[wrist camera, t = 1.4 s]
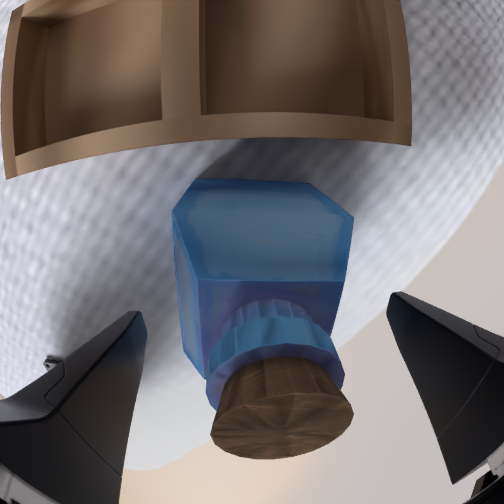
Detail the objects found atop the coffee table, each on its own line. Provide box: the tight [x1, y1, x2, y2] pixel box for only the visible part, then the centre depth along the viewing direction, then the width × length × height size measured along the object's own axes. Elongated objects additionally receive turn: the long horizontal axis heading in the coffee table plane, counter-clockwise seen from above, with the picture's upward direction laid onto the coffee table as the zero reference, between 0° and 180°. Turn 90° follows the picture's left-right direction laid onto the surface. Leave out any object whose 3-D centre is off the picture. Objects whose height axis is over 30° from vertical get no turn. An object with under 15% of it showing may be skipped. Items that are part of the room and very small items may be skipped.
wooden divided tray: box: [1, 0, 412, 180], centre depth 10 cm, size 20×10×4 cm, turn 92°
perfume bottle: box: [172, 179, 354, 459], centre depth 11 cm, size 6×6×12 cm
